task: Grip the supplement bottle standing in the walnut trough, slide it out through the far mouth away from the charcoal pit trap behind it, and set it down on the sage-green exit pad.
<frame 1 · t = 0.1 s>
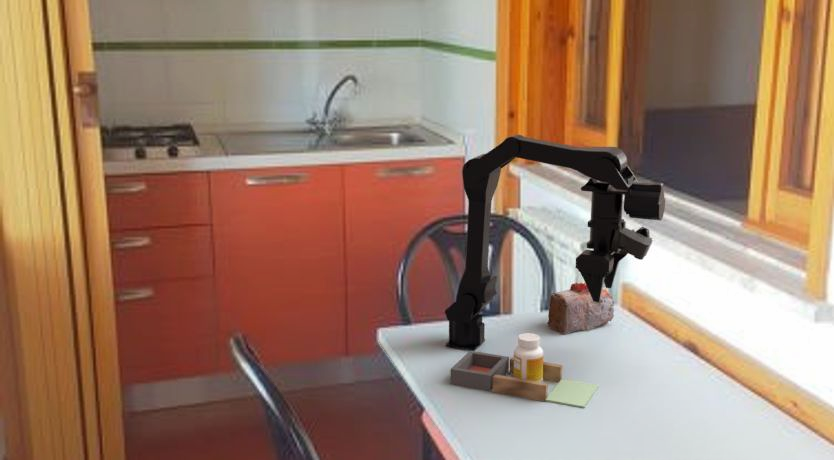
hand: (602, 294, 178), 15 cm above the table, tool pointing down, fingers open, 9 cm apart
pit trap: (480, 377, 176), on the table
exit pad: (572, 393, 169), on the table
supplement bottle: (527, 387, 172), on the table
food item: (580, 327, 203), on the table
walnut trough: (527, 385, 172), on the table
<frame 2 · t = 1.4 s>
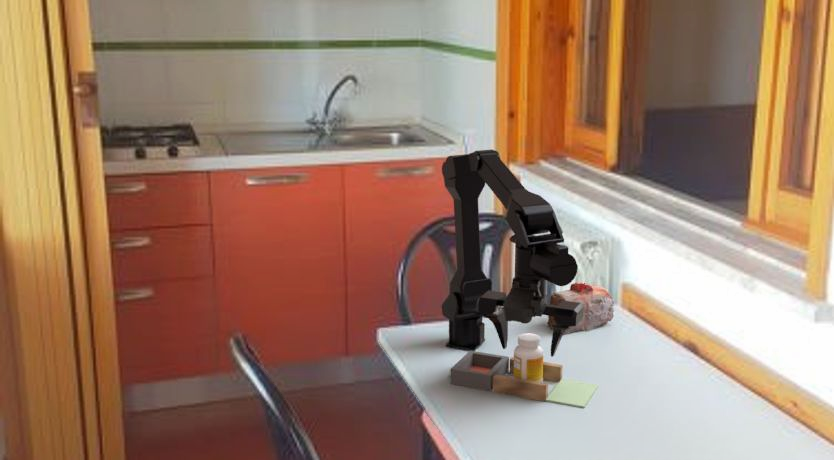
hand: (528, 352, 171), 7 cm above the table, tool pointing down, fingers open, 9 cm apart
nothing on the table moved.
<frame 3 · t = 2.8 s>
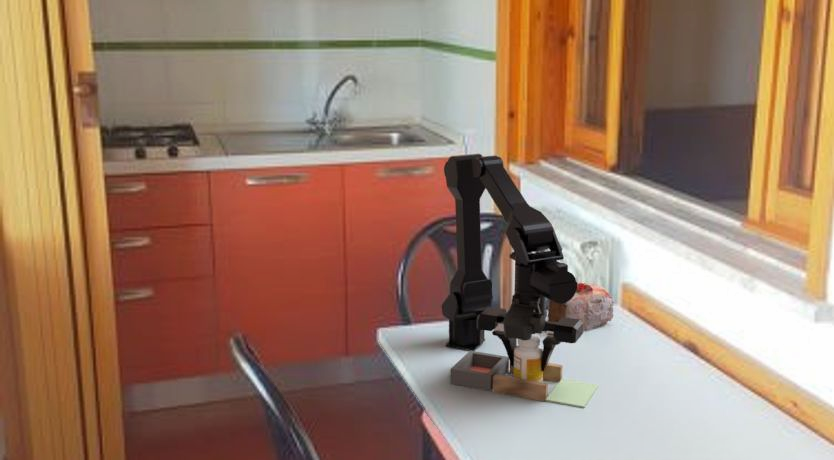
hand: (528, 368, 171), 4 cm above the table, tool pointing down, fingers closed on supplement bottle, 5 cm apart
supplement bottle: (527, 386, 172), on the table, touching gripper
everything else where it was.
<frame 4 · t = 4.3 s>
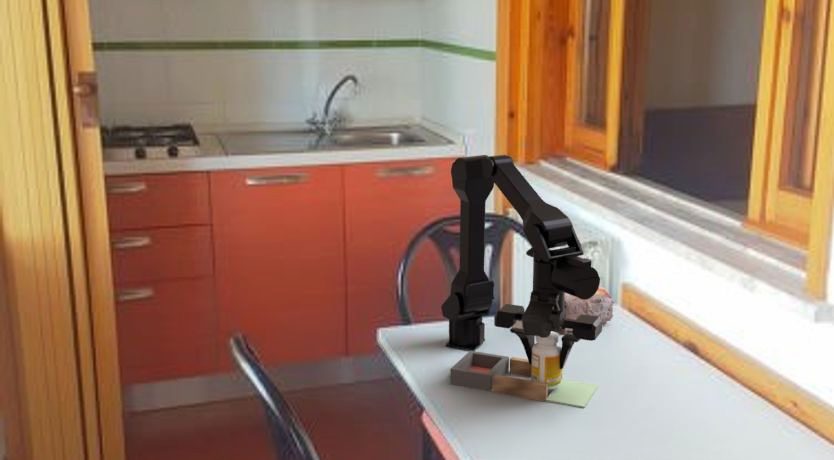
hand: (546, 366, 170), 5 cm above the table, tool pointing down, fingers closed on supplement bottle, 5 cm apart
supplement bottle: (545, 385, 171), point 1 cm above the table, touching gripper
everything else where it was.
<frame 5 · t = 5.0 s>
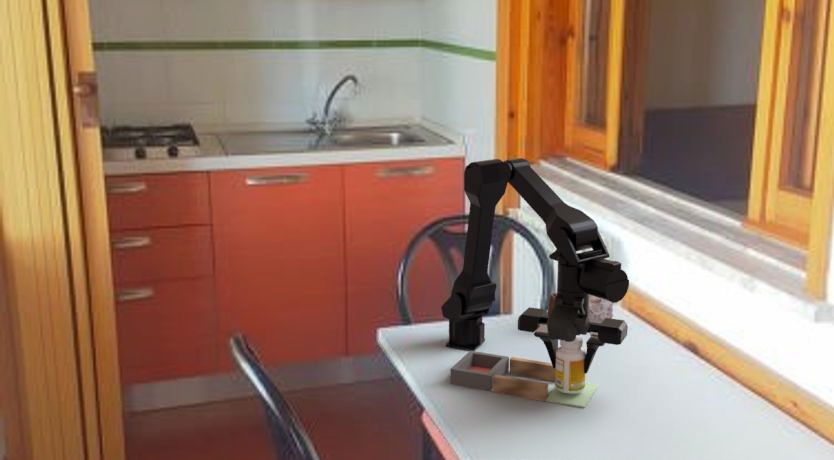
hand: (570, 370, 168), 5 cm above the table, tool pointing down, fingers closed on supplement bottle, 5 cm apart
supplement bottle: (569, 389, 169), point 1 cm above the table, touching gripper
everything else where it was.
when the fingers open (4 cm above the table, at t = 6.0 s): supplement bottle stays where it is, resting on exit pad.
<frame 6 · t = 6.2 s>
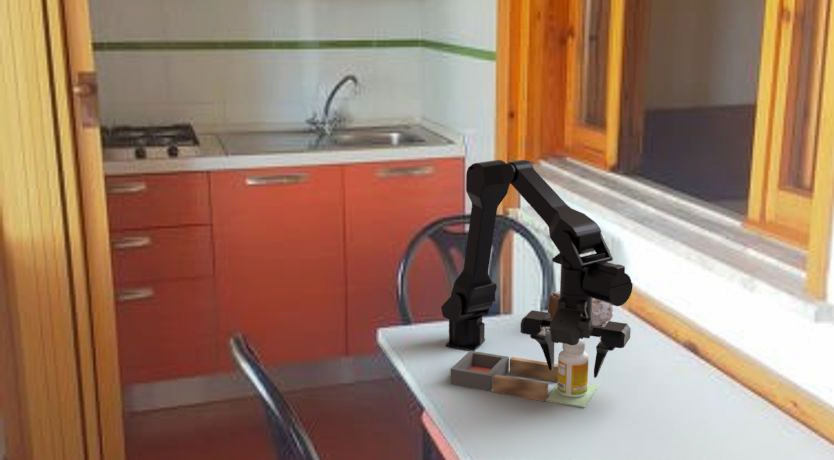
hand: (573, 373, 168), 4 cm above the table, tool pointing down, fingers open, 8 cm apart
supplement bottle: (572, 393, 169), resting on exit pad
everything else where it was.
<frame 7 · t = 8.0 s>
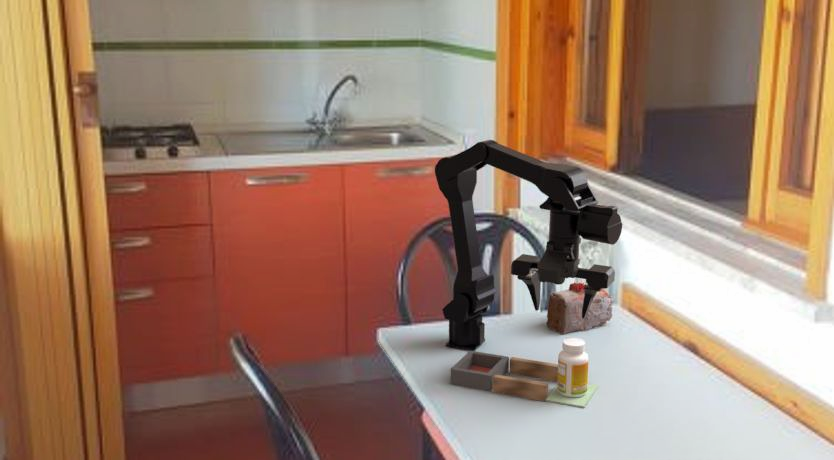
hand: (560, 313, 177), 11 cm above the table, tool pointing down, fingers open, 9 cm apart
nothing on the table moved.
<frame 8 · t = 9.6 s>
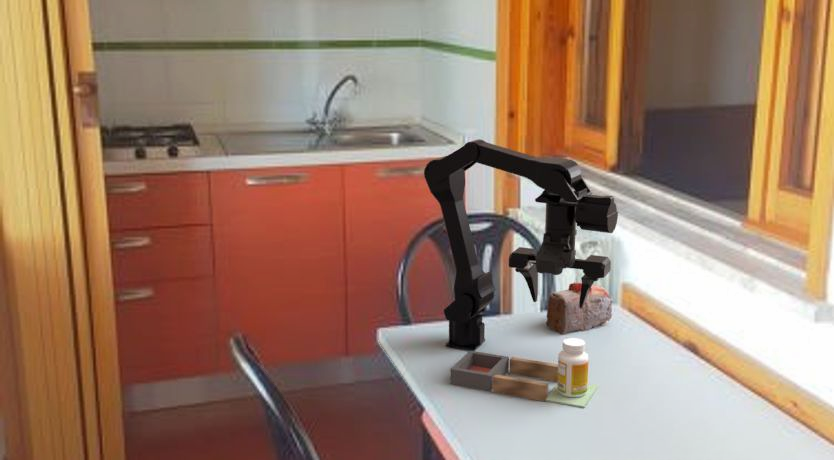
hand: (557, 304, 180), 12 cm above the table, tool pointing down, fingers open, 9 cm apart
nothing on the table moved.
at the end: supplement bottle inside the target area (0.4 cm from its centre), resting on exit pad; supplement bottle tilted 0°; the gripper is holding nothing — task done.
